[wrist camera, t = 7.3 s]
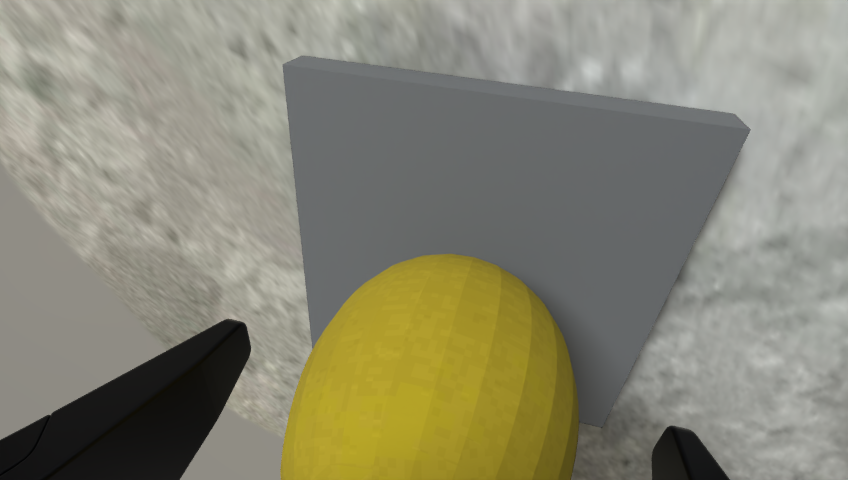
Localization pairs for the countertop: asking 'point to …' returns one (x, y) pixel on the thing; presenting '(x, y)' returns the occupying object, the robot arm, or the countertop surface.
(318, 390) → the lemon
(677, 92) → the countertop surface
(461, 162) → the mat
